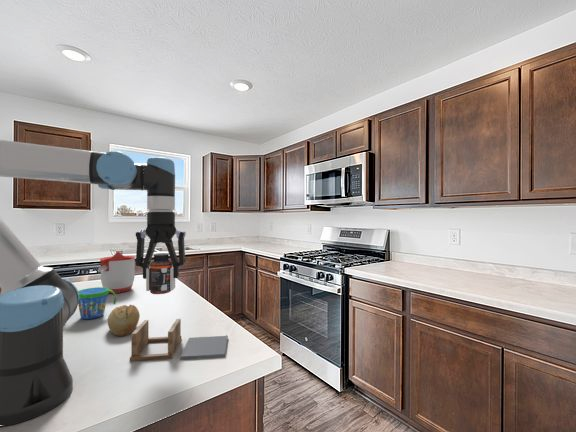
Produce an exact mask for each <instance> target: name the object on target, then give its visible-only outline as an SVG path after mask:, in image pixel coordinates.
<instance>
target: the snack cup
mask: <svg viewBox="0 0 576 432" xmlns="http://www.w3.org/2000/svg"><path fill="white" fill-rule="evenodd" d="M109 292H112V293H111V294H113V295H114V296H113V297H114V298H113V305H116V304H117V295H116V294H115V293H114V292H113V291H112V290H110V289H108V288H104V287H103V286H100V287H99V286H97V287H89V288H84V289H79V290H78V293H79V302H78V310H79V317H80V319H83V320H91V319H92V320H93V319H96V318H101V317H102V316H104V314H105V311H106V306H107V305H106V304H107V300H108V296H109V294H110V293H109Z"/></svg>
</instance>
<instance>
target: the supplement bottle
mask: <svg viewBox="0 0 576 432" xmlns="http://www.w3.org/2000/svg"><path fill="white" fill-rule="evenodd" d="M169 258H170V255H169V253H166V252H164V253H155V254H154V253H153V259H154V260H153V261H151V262H150V266H149V267H150V290H149V292H150V293H151V294H152V295H164V294H168V293H170V292H172V290H170V268H171V267H173V265H172V261H171V260H169Z"/></svg>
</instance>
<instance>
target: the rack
mask: <svg viewBox="0 0 576 432" xmlns="http://www.w3.org/2000/svg"><path fill="white" fill-rule="evenodd" d="M181 319H182V318H176V319H175V320H174V322H173V324H172V325H171V327H170V329H169V330H168V331H167V336H154V337H149V319H148V320H147V319H144V320H143V321H142V322H141V323H140V324H139V325H137V326H138V327H136V328H135V329H134V330H133V331H132V332H131V333H130V334H131V338H130V339H131V343H130V345H131V351H130V352H131V354H130V356H129V362H139V361H140V362H141V361H155V360H158V361H159V360H170V359H171V360H172V358H173V356H174V354H175V352H176V351H177V348H178V346H179V344H180V343H181V341H182V335H181V332H182V331H181V330H182V329H181V328H182V327H181V325H182V324H181V322H182V321H181ZM163 342H164V343H165V342H167V353H150V354H141V353H142V351H143V350H144V349H145V348H146V347H147V345H148V344H149V343H163Z"/></svg>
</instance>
